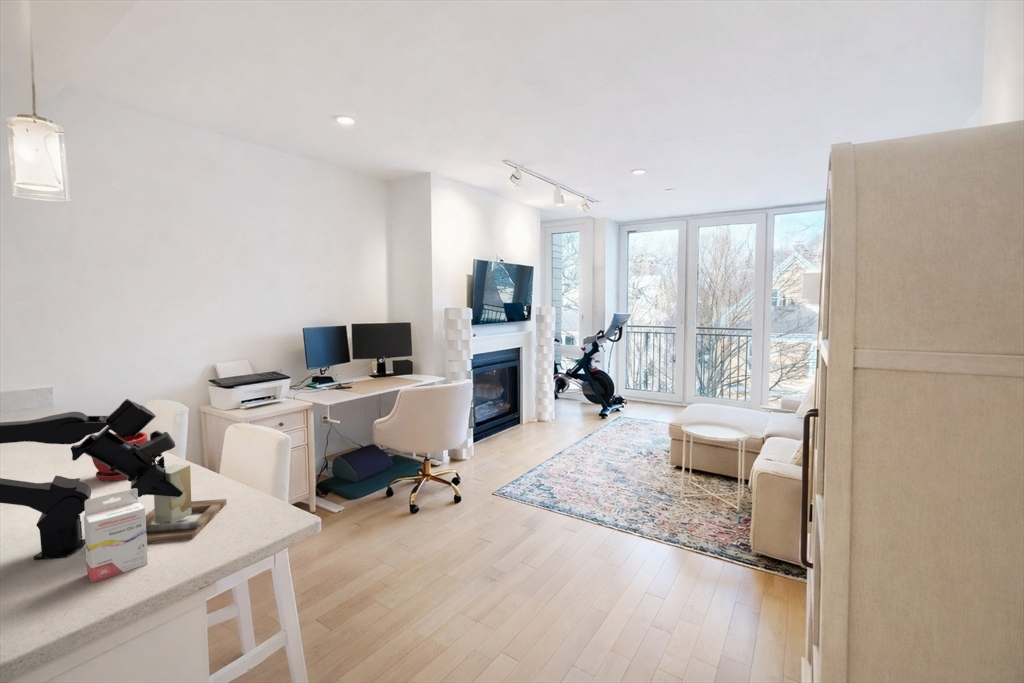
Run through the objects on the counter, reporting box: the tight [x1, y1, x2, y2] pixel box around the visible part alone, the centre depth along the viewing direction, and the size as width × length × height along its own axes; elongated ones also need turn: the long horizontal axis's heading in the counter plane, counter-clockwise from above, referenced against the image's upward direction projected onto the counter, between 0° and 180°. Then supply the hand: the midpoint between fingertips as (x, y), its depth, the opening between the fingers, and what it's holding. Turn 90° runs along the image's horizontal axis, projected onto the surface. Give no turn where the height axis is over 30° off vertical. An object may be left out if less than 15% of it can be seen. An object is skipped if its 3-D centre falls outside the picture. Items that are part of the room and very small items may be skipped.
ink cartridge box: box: [83, 488, 149, 583], centre depth 89 cm, size 9×5×15 cm, turn 141°
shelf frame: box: [145, 498, 228, 544], centre depth 108 cm, size 18×15×3 cm
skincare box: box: [153, 463, 192, 524], centre depth 108 cm, size 6×4×12 cm
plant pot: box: [91, 431, 149, 482], centre depth 138 cm, size 13×13×12 cm
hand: (180, 489), depth 109 cm, fingers closed on skincare box, 7 cm apart
